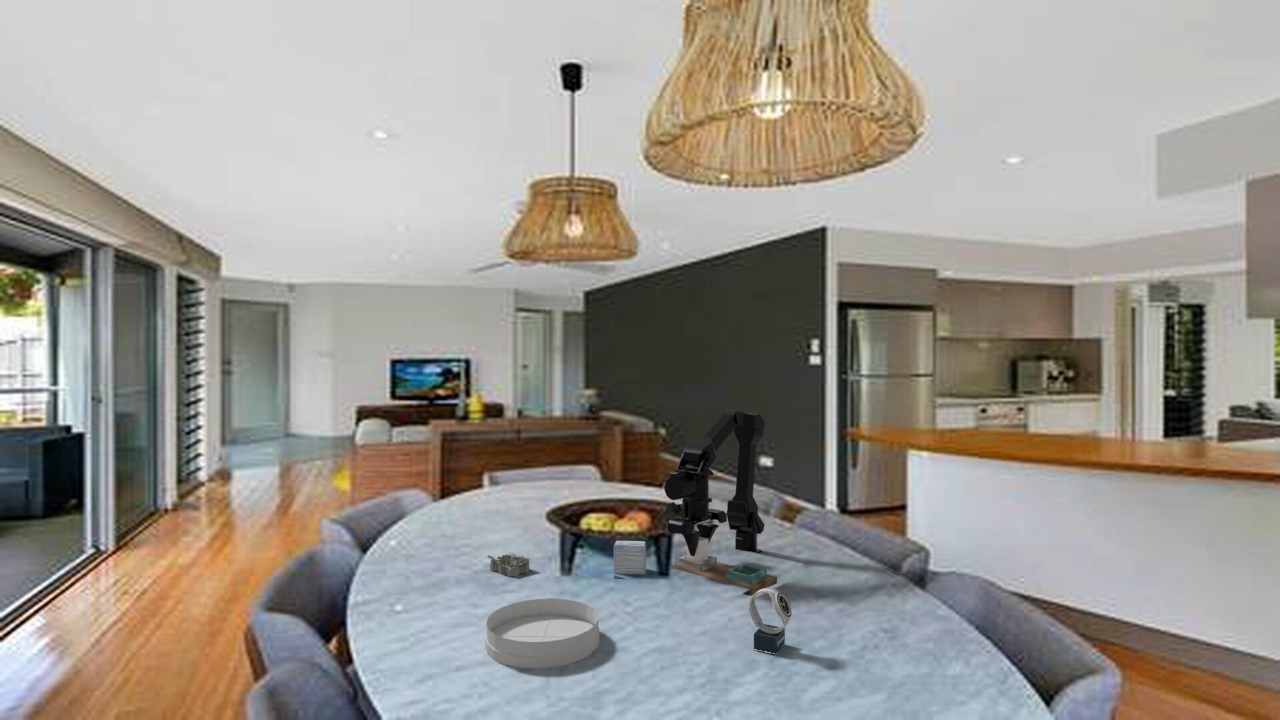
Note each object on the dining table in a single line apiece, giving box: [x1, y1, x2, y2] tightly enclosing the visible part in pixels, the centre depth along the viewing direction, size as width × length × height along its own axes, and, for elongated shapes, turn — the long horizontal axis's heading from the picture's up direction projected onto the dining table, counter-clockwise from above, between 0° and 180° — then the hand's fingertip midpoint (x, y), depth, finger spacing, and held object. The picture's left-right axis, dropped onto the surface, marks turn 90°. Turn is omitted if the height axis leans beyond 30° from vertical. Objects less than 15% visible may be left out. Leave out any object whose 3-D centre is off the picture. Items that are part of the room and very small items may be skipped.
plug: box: [686, 537, 709, 562], centre depth 175 cm, size 4×4×7 cm
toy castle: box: [487, 552, 533, 577], centre depth 176 cm, size 11×8×4 cm
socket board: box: [669, 554, 778, 597], centre depth 170 cm, size 12×25×4 cm, turn 48°
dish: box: [484, 598, 600, 670], centre depth 131 cm, size 22×22×5 cm
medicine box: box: [613, 540, 647, 580], centre depth 170 cm, size 8×4×9 cm, turn 84°
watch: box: [748, 587, 793, 655], centre depth 129 cm, size 6×8×11 cm
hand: (697, 554), depth 175 cm, fingers closed on plug, 4 cm apart
